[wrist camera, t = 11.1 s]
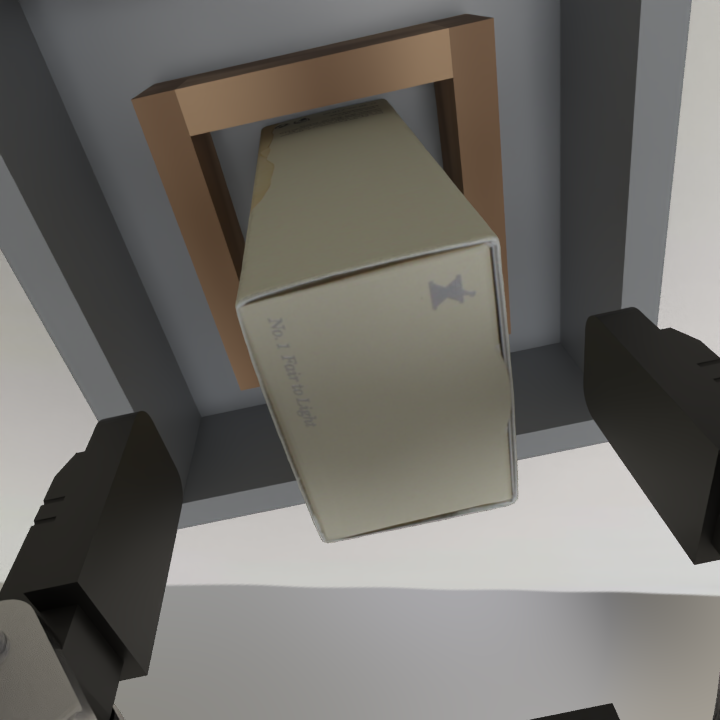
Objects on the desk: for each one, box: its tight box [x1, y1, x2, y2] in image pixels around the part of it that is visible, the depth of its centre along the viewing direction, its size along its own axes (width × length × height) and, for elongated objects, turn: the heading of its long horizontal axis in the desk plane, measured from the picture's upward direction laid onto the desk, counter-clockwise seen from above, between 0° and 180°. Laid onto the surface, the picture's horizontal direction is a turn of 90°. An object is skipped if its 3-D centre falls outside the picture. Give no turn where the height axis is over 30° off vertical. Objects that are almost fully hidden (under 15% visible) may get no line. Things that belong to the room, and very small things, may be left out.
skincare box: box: [235, 99, 518, 543], centre depth 15 cm, size 6×4×12 cm
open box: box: [0, 0, 692, 529], centre depth 19 cm, size 18×18×6 cm
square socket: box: [131, 14, 511, 391], centre depth 19 cm, size 10×10×3 cm
